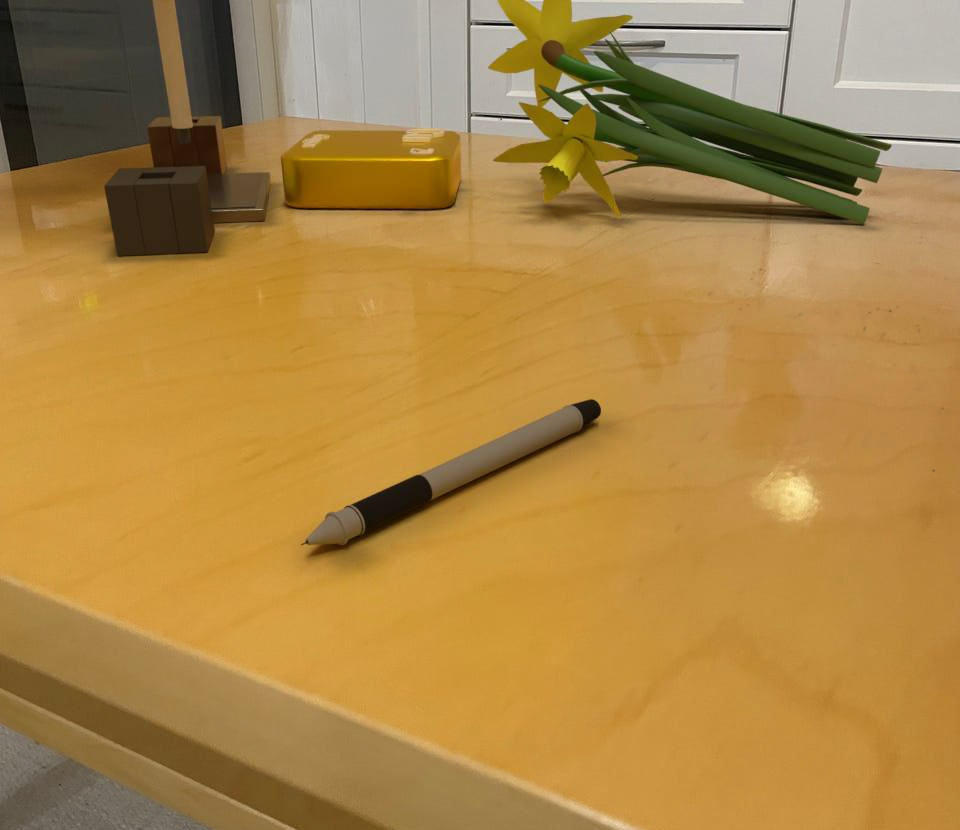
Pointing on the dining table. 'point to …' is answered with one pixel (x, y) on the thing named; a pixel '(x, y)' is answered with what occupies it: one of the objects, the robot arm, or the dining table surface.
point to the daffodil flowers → (667, 122)
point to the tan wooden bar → (173, 67)
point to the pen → (451, 474)
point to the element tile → (373, 169)
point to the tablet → (239, 196)
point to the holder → (160, 210)
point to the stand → (197, 153)
